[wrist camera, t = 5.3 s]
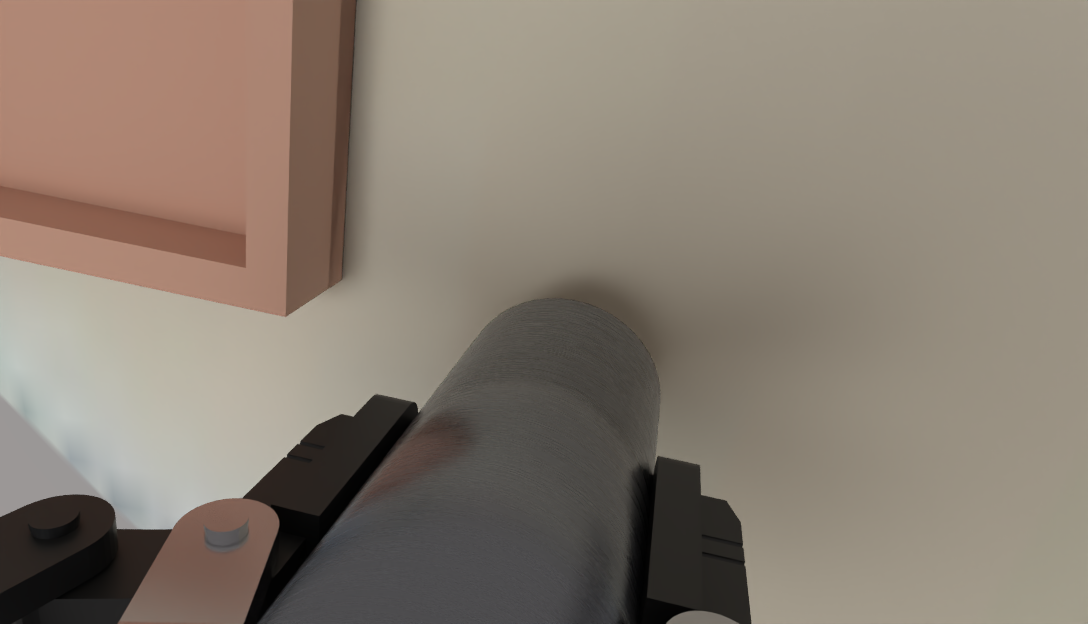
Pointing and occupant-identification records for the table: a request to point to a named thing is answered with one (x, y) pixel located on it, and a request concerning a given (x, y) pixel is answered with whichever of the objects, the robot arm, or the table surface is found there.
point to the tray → (179, 143)
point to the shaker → (504, 488)
